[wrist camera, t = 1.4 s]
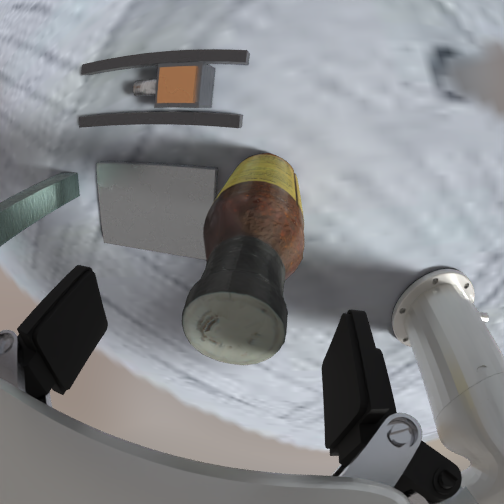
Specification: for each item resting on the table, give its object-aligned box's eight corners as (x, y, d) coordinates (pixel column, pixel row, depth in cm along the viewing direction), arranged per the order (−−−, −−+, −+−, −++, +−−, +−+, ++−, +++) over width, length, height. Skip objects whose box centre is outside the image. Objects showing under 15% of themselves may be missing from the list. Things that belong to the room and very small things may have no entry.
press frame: (249, 53, 22) (166, -40, 5) (230, 258, 32) (173, 410, 15) (56, 73, 23) (-76, 94, 6) (64, 231, 34) (-32, 313, 17)
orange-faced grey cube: (215, 68, 22) (201, 61, 18) (211, 107, 24) (197, 107, 20) (148, 70, 23) (125, 66, 19) (145, 107, 25) (122, 109, 21)
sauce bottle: (223, 170, 27) (111, 286, 10) (279, 139, 25) (250, 211, 8) (256, 224, 30) (206, 390, 12) (310, 198, 28) (335, 357, 10)
